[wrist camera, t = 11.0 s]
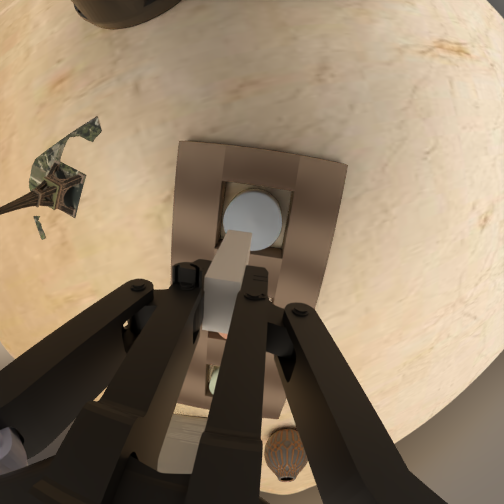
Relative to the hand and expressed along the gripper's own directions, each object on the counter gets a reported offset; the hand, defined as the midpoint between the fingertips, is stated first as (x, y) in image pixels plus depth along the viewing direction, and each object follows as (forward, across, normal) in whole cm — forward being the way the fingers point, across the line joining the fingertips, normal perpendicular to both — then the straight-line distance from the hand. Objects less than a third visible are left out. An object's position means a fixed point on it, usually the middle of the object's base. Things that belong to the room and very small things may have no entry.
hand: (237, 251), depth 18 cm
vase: (+9, +10, -34) cm, 36 cm away
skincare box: (+9, -5, -36) cm, 37 cm away
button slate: (+9, +1, 0) cm, 9 cm away
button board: (+9, 0, -10) cm, 13 cm away
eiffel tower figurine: (+10, -21, +2) cm, 24 cm away
